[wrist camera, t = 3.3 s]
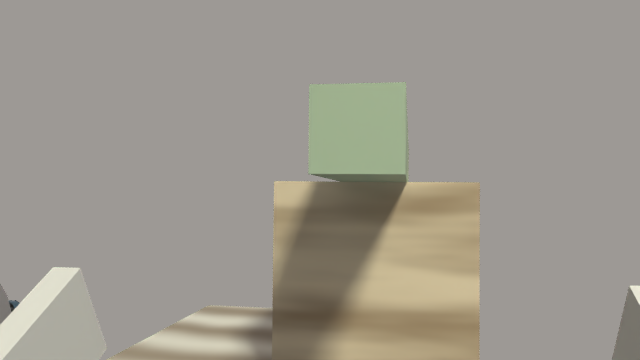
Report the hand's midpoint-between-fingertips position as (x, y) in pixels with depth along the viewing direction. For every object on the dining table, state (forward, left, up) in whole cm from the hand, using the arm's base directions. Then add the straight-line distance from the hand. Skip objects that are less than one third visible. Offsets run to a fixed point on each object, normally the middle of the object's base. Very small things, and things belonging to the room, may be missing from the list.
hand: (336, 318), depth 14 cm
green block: (-9, +15, +4) cm, 18 cm away
